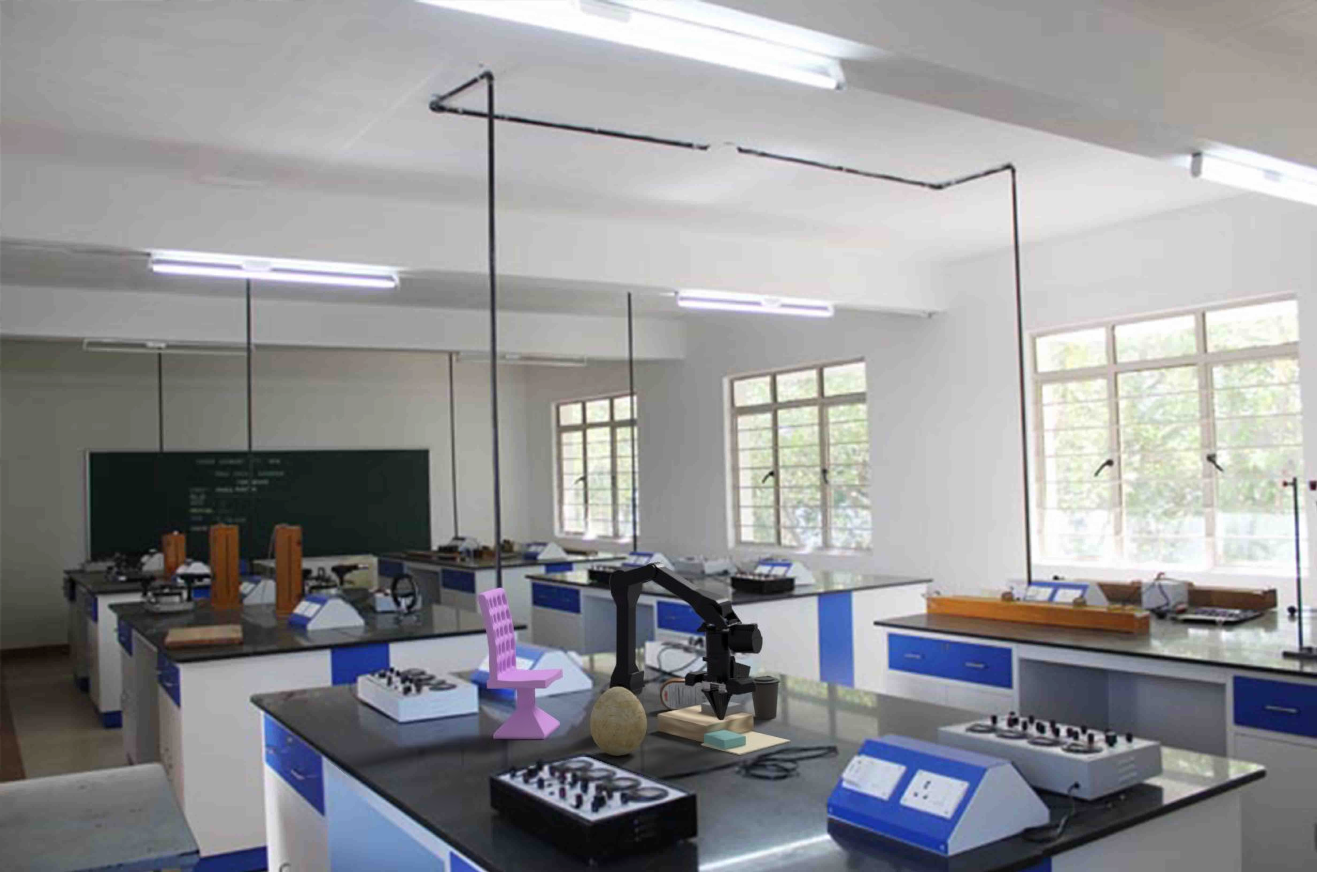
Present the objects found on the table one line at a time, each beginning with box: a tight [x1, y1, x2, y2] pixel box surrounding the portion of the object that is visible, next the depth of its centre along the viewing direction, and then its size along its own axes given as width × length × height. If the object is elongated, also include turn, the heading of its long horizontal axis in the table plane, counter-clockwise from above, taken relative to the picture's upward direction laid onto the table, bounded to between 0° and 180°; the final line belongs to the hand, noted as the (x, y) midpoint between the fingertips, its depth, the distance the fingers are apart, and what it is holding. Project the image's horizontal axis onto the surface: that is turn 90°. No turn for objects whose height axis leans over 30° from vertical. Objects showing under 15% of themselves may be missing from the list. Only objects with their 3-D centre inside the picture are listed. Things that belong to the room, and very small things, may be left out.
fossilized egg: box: [589, 687, 648, 757], centre depth 232 cm, size 13×13×15 cm
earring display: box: [476, 587, 563, 740], centre depth 257 cm, size 15×17×35 cm
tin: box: [659, 677, 709, 711], centre depth 275 cm, size 15×3×8 cm, turn 84°
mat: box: [700, 731, 791, 756], centre depth 238 cm, size 16×13×1 cm
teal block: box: [703, 730, 746, 749], centre depth 237 cm, size 6×8×2 cm
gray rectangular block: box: [701, 701, 743, 716], centre depth 253 cm, size 6×8×2 cm
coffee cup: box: [751, 675, 781, 720], centre depth 264 cm, size 8×8×10 cm
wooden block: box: [657, 705, 755, 743], centre depth 251 cm, size 15×18×4 cm
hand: (721, 719), depth 240 cm, fingers closed
